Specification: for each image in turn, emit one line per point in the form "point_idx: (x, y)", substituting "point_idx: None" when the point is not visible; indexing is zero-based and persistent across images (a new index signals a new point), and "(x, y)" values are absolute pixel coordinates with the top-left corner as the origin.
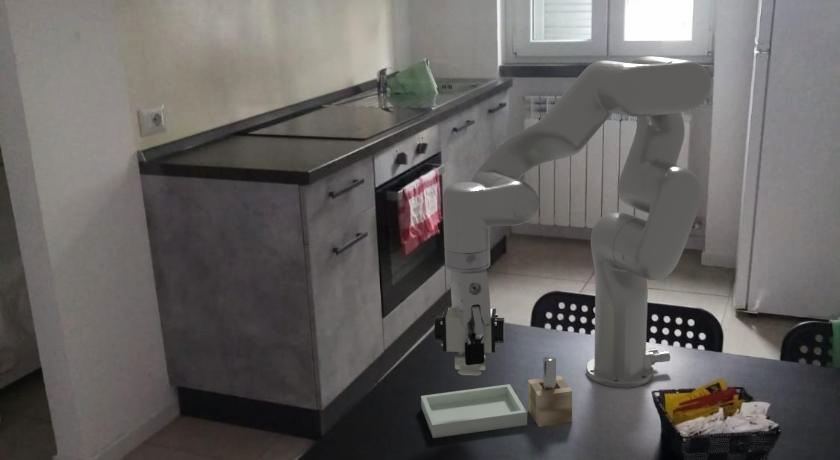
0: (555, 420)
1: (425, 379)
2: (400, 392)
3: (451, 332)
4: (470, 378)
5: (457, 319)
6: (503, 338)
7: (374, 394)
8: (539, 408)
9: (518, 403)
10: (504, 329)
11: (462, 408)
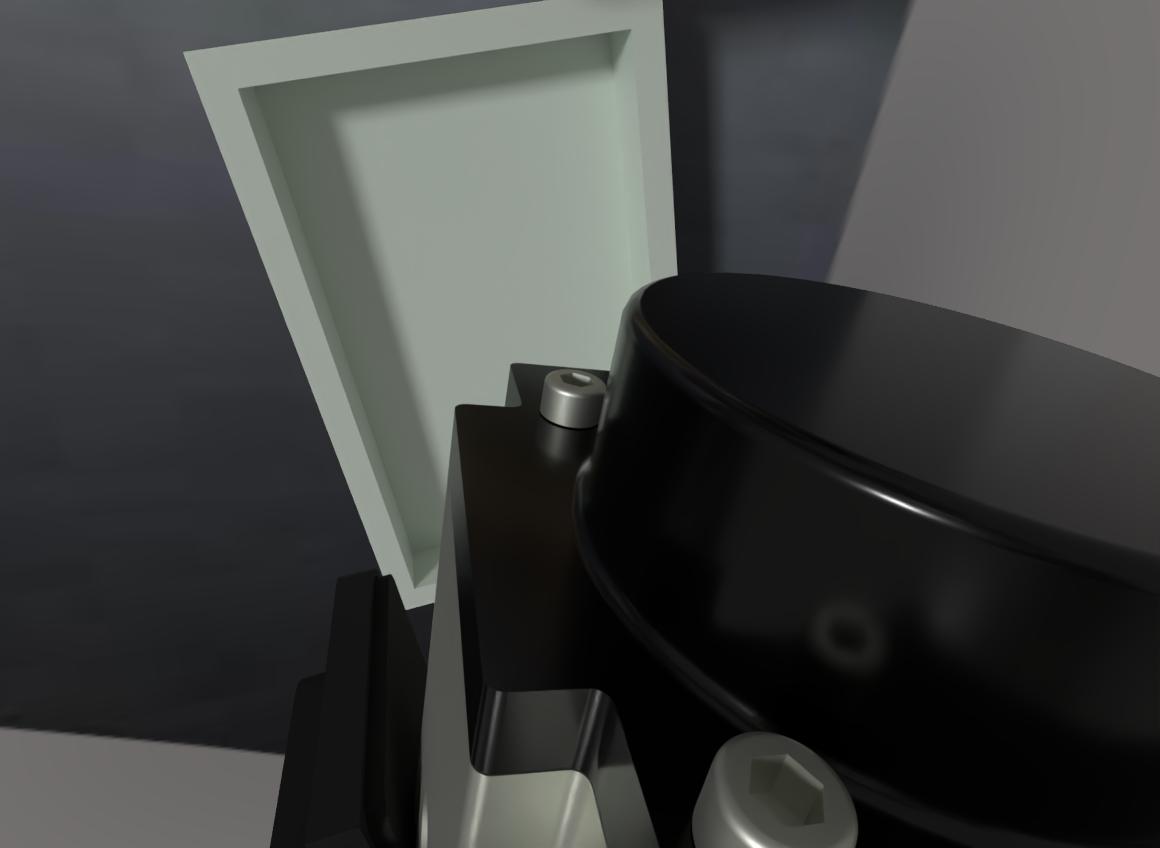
0: None
1: (34, 587)
2: (227, 666)
3: None
4: None
5: None
6: (1110, 361)
7: (261, 748)
8: None
9: (527, 30)
10: (705, 318)
11: (435, 388)
